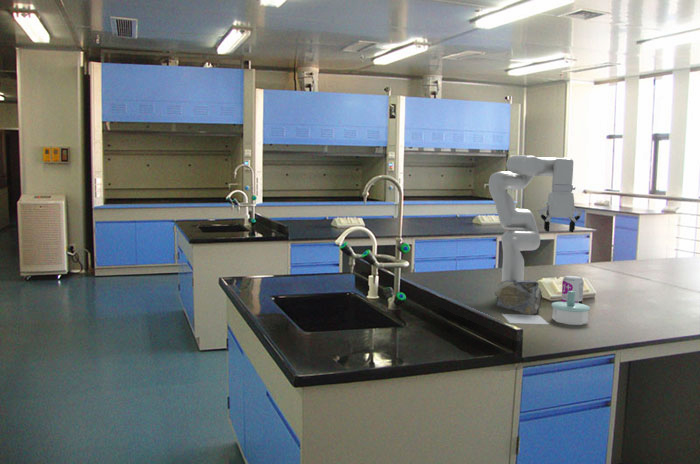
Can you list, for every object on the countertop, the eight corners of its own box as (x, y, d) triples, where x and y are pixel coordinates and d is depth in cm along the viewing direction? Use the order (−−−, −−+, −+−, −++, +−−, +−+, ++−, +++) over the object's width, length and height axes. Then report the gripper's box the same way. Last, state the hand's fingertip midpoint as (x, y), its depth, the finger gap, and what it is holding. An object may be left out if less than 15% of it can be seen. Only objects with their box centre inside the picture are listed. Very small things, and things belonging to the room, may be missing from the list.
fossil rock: (494, 315, 250) (491, 280, 252) (509, 313, 255) (507, 279, 257) (530, 315, 233) (528, 278, 234) (546, 314, 238) (544, 278, 239)
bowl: (549, 317, 233) (550, 303, 233) (579, 318, 233) (580, 304, 232) (559, 324, 221) (560, 310, 221) (590, 325, 221) (591, 311, 220)
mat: (501, 314, 235) (501, 313, 235) (538, 316, 234) (538, 315, 234) (509, 324, 221) (509, 322, 221) (549, 325, 221) (549, 324, 221)
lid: (546, 303, 234) (547, 287, 233) (582, 304, 233) (583, 288, 233) (558, 311, 220) (559, 294, 219) (595, 312, 219) (596, 295, 219)
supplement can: (568, 314, 238) (571, 278, 236) (556, 310, 246) (558, 275, 244) (585, 314, 240) (588, 278, 238) (573, 309, 248) (575, 274, 246)
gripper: (580, 189, 235) (577, 231, 237) (537, 188, 236) (534, 230, 238) (587, 190, 228) (584, 233, 230) (542, 188, 228) (540, 232, 230)
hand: (559, 231), depth 234 cm, fingers open, 9 cm apart
